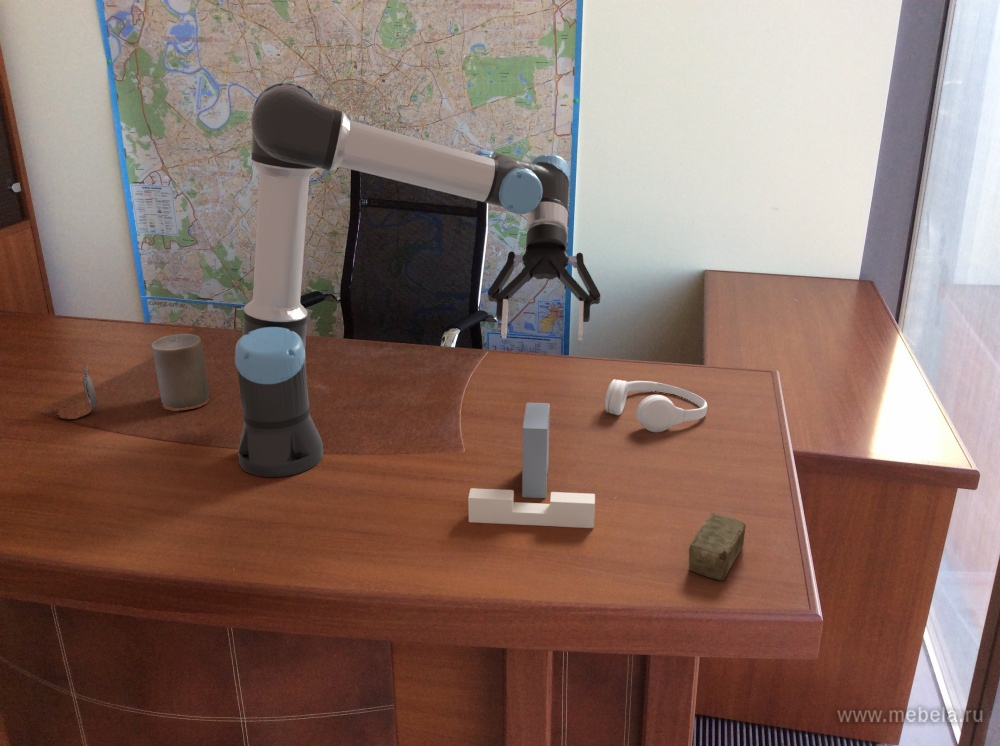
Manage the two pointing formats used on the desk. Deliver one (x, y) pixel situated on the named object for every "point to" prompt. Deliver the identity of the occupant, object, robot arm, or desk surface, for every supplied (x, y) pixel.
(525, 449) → the blue-grey rectangular block
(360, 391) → the desk surface
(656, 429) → the headphones
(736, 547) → the stone block
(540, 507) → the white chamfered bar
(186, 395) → the grey cylinder
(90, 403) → the pocket watch
